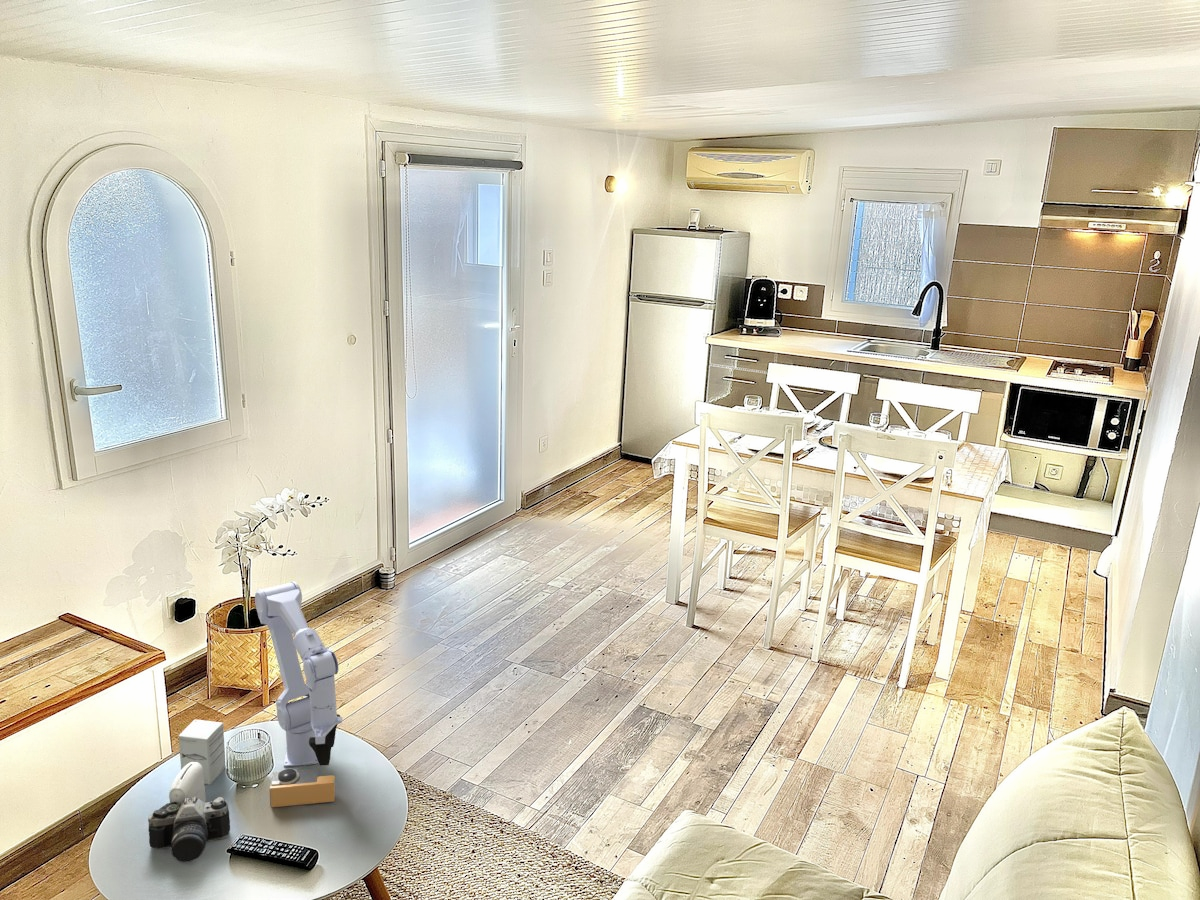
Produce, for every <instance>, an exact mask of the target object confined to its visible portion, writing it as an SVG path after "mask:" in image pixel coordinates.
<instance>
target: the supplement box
mask: <svg viewBox="0 0 1200 900" xmlns="http://www.w3.org/2000/svg"><path fill="white" fill-rule="evenodd" d="M224 735H225V734H224V722H220V721H213V720H202V719H196V718H194V720H193V721H192V722H190V723H189V725H187V726H186V728H184V729H183V730H182V732H180V733H179V735H178V745H179V760H180V771H181V770H182V769H183V768H184V767H185V766H186V765H187V764H188V763H190V762H198V763H200V764H201V766H202V767H203V775H204V785H209V786H210V785H212V784H213V782H214V781H216V780H217V778H218V777H219V775H221V774H222V772H223V771H224V770H225V768H226V752H225V751H226V750H225V749H226V748H225V736H224Z"/></svg>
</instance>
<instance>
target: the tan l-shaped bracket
mask: <svg viewBox="0 0 1200 900" xmlns="http://www.w3.org/2000/svg"><path fill="white" fill-rule="evenodd" d="M269 789H270V790H269V798H270V797H271V806H270V807H271V808H277V807H280V808H281V807H288V806H289V807H290V806H300V805H311V804H319V803H329V802H330V803H331V802H335V799H336V797H335V796H336V783H335V775H331V774H330V775H318V777H317V782H312V783H301V784H290V785H279V786H270V785H269Z"/></svg>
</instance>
